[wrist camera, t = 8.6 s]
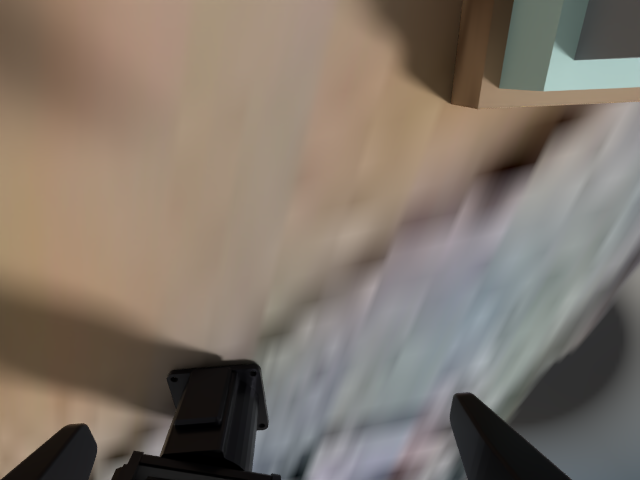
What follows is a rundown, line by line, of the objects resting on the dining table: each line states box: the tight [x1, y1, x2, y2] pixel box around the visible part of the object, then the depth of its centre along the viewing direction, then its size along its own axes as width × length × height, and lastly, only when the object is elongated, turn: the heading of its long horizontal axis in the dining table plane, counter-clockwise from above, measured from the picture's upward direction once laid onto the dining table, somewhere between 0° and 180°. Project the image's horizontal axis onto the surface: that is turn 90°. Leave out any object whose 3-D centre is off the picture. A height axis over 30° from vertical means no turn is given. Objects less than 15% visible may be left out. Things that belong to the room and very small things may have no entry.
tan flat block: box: [451, 0, 640, 109], centre depth 15 cm, size 8×8×3 cm
